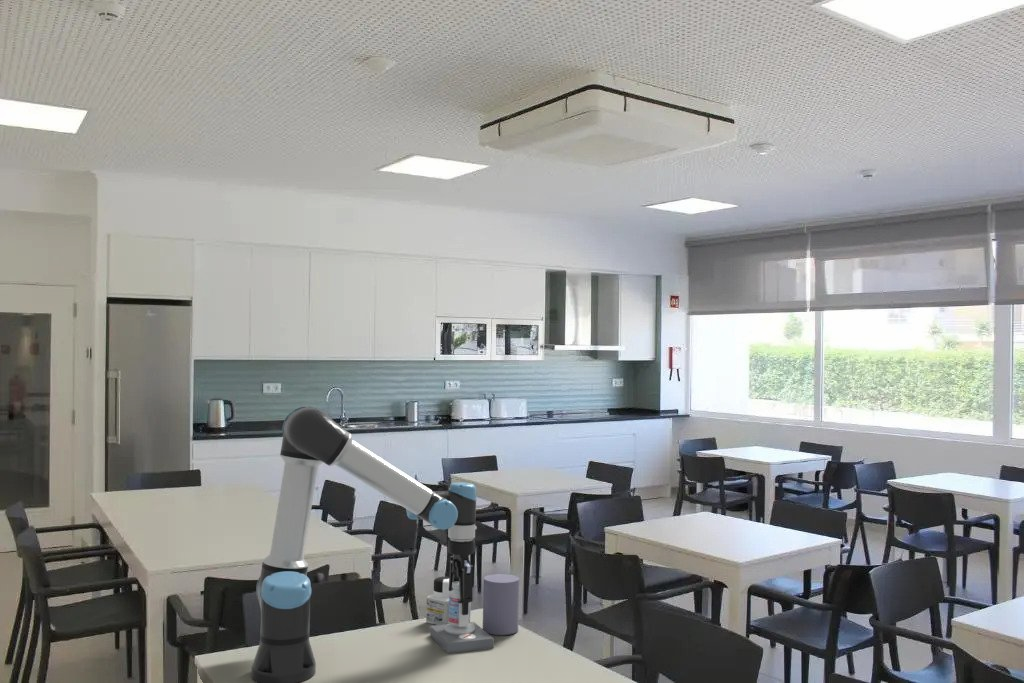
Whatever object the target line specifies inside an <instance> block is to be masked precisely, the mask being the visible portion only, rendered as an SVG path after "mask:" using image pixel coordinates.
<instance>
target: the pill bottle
mask: <svg viewBox="0 0 1024 683" xmlns="http://www.w3.org/2000/svg"><path fill="white" fill-rule="evenodd" d="M452 588H453V590H452V591H451V592H450V594H449V617H448V622H449V624H450V625H453V626H458V623H459V603H458V601H460V587H459V581H455V582H453V583H452ZM471 603H472V602H469V623H470V622H471V605H472V604H471Z"/></svg>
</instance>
